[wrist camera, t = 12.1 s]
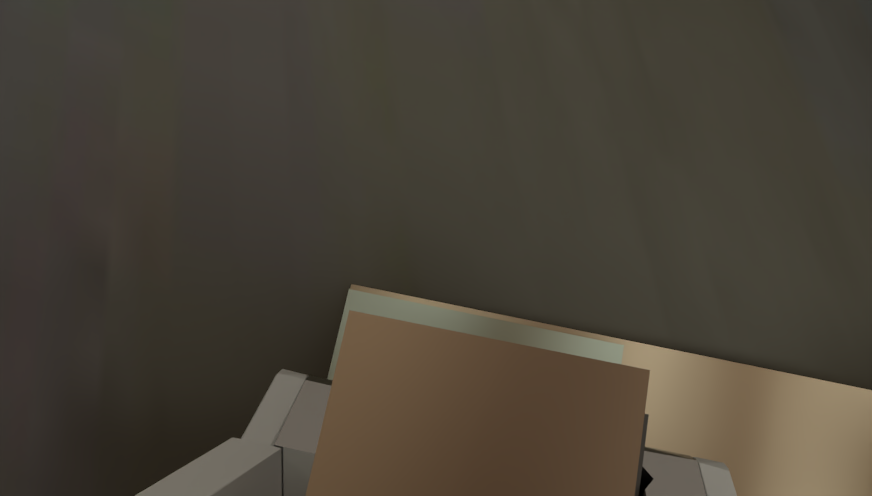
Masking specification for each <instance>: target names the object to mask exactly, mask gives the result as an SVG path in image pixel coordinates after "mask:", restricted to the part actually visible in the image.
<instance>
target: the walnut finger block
mask: <svg viewBox="0 0 872 496" xmlns="http://www.w3.org/2000/svg"><path fill="white" fill-rule="evenodd" d="M649 375H650V370H647V369H642V368H637V367H632V366H627V365H622V364H617V363H612V362H607V361H602V360H597V359H592V358H587V357H581V356H576V355H571V354H566V353H561V352H556V351H551V350H546V349H541V348H536V347H531V346H526V345H521V344H516V343H511V342H506V341H501V340H496V339H491V338H486V337H481V336H476V335H471V334H466V333H461V332H456V331H451V330H446V329H441V328H436V327H431V326H426V325H421V324H416V323H411V322H406V321H401V320H396V319H391V318H386V317H381V316H376V315H371V314H366V313H361V312H356V311H351V310H349V314H348V318H347V322H346V326H345V331H344V335H343V339H342V343H341V348H340V352H339V356H338V360H337V364H336V369H335V373H334V377H333V381H332V386H331V390H330V394H329V398H328V402H327V407H326V411H325V415H324V419H323V424H322V428H321V432H320V436H319V441H318V445H317V449H316V453H315V457H314V462H313V466H312V470H311V474H310V479H309V483H308V487H307V491H306V495H305V496H639V490H640V482H641V473H642V465H643V457H644V449H645V441H646V433H647V425H648V417H649V415H648V414H645V407H646V399H647V391H648V383H649Z"/></svg>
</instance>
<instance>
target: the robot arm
mask: <svg viewBox="0 0 872 496" xmlns="http://www.w3.org/2000/svg"><path fill="white" fill-rule="evenodd" d="M332 381H333V380H329V379H325V378H321V377H317V376H313V375H306V374H302V373H298V372H294V371H290V370H285V369H282V370H281V371H280V372H278V373H277V374H276V376H275V377H274V379H273V381H272V383H271V385H270V387H269V388H268V390H267V392H266V394H265V396H264V397H263V399H262V401H261V403H260V405H259V406H258V408H257V410H256V412H255V414H254V416H253V417H252V419H251V421H250V423H249V425H248V426H247V428H246V430H245V432H244V434H243V435H242V437H241V439H239V438H234V437H232V438H230V439H229V440H227V441H225V442H224V443H222V444H220V445H219V446H217V447H215V448H214V449H212V450H210V451H208V452H207V453H205V454H203V455H202V456H200V457H198V458H197V459H195V460H193V461H192V462H190V463H188V464H187V465H185V466H183V467H182V468H180V469H178V470H177V471H175V472H173V473H172V474H170V475H168V476H167V477H165V478H163V479H162V480H160V481H158V482H157V483H155V484H153V485H152V486H150V487H148V488H147V489H145V490H143V491H142V492H140V493H138V494H136V495H135V496H305V495H306V491H307V487H308V483H309V479H310V474H311V470H312V466H313V462H314V457H315V453H316V449H317V445H318V441H319V436H320V432H321V428H322V424H323V419H324V415H325V411H326V407H327V402H328V398H329V394H330V390H331V386H332ZM639 496H737V494H736V491H735V487H734V484H733V481H732V478H731V475H730V471H729V468H728V467H727V466H726V465H725V464H724V463H722V462H717V461H712V460H708V459H703V458H698V457H691V456H689V455H684V454H679V453H674V452H669V451H664V450H659V449H654V448H649V447H645V449H644V457H643V465H642V473H641V482H640V490H639Z"/></svg>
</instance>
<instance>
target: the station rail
mask: <svg viewBox="0 0 872 496" xmlns="http://www.w3.org/2000/svg"><path fill="white" fill-rule="evenodd" d="M349 310H351V311H356V312H361V313H366V314H371V315H376V316H381V317H386V318H391V319H396V320H401V321H406V322H411V323H416V324H421V325H426V326H431V327H436V328H441V329H446V330H451V331H456V332H461V333H466V334H471V335H476V336H481V337H486V338H491V339H496V340H501V341H506V342H511V343H516V344H521V345H526V346H531V347H536V348H541V349H546V350H551V351H556V352H561V353H566V354H571V355H576V356H581V357H587V358H592V359H597V360H602V361H607V362H612V363H617V364H622V365H627V366H632V367H637V368H642V369H647V370H650V375H649V383H648V391H647V399H646V407H645V414H648V415H649V417H648V425H647V433H646V441H645V447H649V448H654V449H659V450H664V451H669V452H674V453H679V454H684V455H689V456H691V457H698V458H703V459H708V460H712V461H717V462H722V463H724V464H725V465H726V466H727V467H728V468H729V471H730V475H731V478H732V481H733V484H734V487H735V491H736V494H737V496H872V390H868V389H863V388H858V387H853V386H849V385H844V384H839V383H834V382H829V381H824V380H819V379H814V378H809V377H804V376H800V375H795V374H790V373H785V372H780V371H775V370H770V369H765V368H760V367H755V366H750V365H746V364H741V363H736V362H731V361H726V360H721V359H716V358H711V357H706V356H701V355H697V354H692V353H687V352H682V351H677V350H672V349H667V348H662V347H657V346H652V345H648V344H643V343H638V342H633V341H628V340H623V339H618V338H613V337H608V336H603V335H599V334H594V333H589V332H584V331H579V330H574V329H569V328H564V327H559V326H554V325H550V324H545V323H540V322H535V321H530V320H525V319H520V318H515V317H510V316H505V315H501V314H496V313H491V312H486V311H481V310H476V309H471V308H466V307H461V306H456V305H451V304H447V303H442V302H437V301H432V300H427V299H422V298H417V297H412V296H407V295H402V294H398V293H393V292H388V291H383V290H378V289H373V288H368V287H363V286H358V285H353V284H351V287H350V289H349V291H348V295H347V299H346V303H345V307H344V312H343V316H342V320H341V324H340V328H339V332H338V336H337V341H336V345H335V349H334V353H333V357H332V361H331V365H330V370H329V374H328V378H327V379H329V380H333V377H334V373H335V369H336V364H337V360H338V356H339V352H340V348H341V343H342V339H343V335H344V331H345V326H346V322H347V318H348V314H349Z"/></svg>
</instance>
